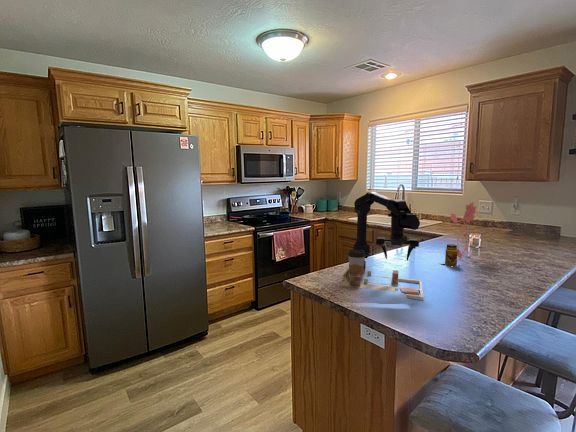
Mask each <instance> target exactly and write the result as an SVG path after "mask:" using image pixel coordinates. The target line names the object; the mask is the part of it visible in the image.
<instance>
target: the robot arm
mask: <svg viewBox="0 0 576 432" xmlns="http://www.w3.org/2000/svg"><path fill="white" fill-rule="evenodd" d="M374 203H376V204H378V205H381V206H383V207H385V208H386V210H388V211H389V212H390V213H389V214H388V215H387V217H389V218H391V220H390V238H386V237H385V236H377V238H376V239H375V245H378V247H380V248H381V249H382V251H383V254H384V257H385V259H386V260H388V254H387V253H388V251H387V244H390V245H391V246H399V247H401V246H403V245H408V246H407V254H406V261H408V260H409V258H410V255H411V253H412V251H413V250H415V249H416V247H417V248H419V247H420V241H419V239H418V238H410V237H409V240H408V234H405V229H408V230H413V231H416V230H418V229H419V227H420V226H421V225H420V224H421V221H420V220H419V219H420V218H418V217H417V213H415V214H414V213H412V211H411V210H410V208H409V206H408V203H407V201H406V200H404V199H400V198H399V199H398V198H391V197H389V196H385V195H383V194H381V193H380V194H379V193H378V192H377V191H368V192H366V193H365V194H363V195H362V196H360V197H358V198H356V199H355V201H354V203H353V207H354V211H355V213H356V214H357V221H356V241H355V243H354V244H353V248H352V250H353V249H358V250H363V251H364V253H365V259H368V257H369V255H370V252H371V250H370V249H371V245H370V244H368V242H367V224H368V214H369V212H370V211H371V208H372V207H371V206H372V205H374ZM366 266H367V264H366V260H365V261H364V270H366V268H367V267H366Z"/></svg>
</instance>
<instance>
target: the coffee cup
mask: <svg viewBox="0 0 576 432" xmlns="http://www.w3.org/2000/svg"><path fill="white" fill-rule="evenodd" d="M347 256H348V269H349V275H350V274H360V281H362V280H364V275H365V269H364V261H366V258H365V253H364V251H363V250H358V249H353V248H352V249H349V251H348V255H347Z"/></svg>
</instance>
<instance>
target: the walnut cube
mask: <svg viewBox="0 0 576 432" xmlns="http://www.w3.org/2000/svg"><path fill="white" fill-rule="evenodd" d="M348 280H349V281H348V282H349V283H350V286H359V287H360V283H361V282H360V281H361V280H360V274H349V279H348ZM350 286H349V287H350Z"/></svg>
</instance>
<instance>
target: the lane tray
mask: <svg viewBox="0 0 576 432" xmlns="http://www.w3.org/2000/svg"><path fill="white" fill-rule="evenodd" d="M367 275H370V276H372V270H369V269H367ZM402 281H403V282H404V283H411V282H412V283H414V284H419V289H418V288H417V290H418V291H419V296H418V295H410V294H405V293H404V295H405V296H406V298H407V299H415V300H420V301H423V300H424V292H423V291H424V290H423V281H422V279H412V278H411V279H409V278H402V277H401V278H400V277H398V282H402ZM368 282H369V279H368V278H367V277H363V284H369V283H368ZM403 282H402V283H403ZM400 288H404V286H403V287H402V286H400V287H399V289H400Z"/></svg>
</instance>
